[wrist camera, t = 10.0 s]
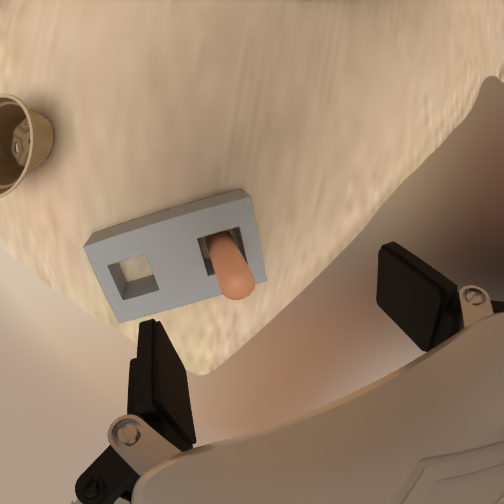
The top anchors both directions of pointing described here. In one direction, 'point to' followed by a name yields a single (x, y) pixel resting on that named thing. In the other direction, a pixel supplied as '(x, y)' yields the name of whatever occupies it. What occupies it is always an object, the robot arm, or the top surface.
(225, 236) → the peg
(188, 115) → the top surface
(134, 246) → the socket block
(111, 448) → the robot arm
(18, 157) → the flower pot
